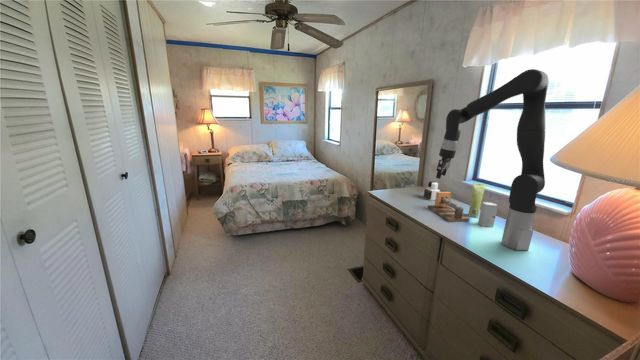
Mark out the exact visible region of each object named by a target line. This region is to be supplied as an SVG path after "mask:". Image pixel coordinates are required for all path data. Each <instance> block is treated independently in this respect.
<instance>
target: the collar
mask: <svg viewBox="0 0 640 360" xmlns="http://www.w3.org/2000/svg"><path fill="white" fill-rule="evenodd" d="M441 197H444V198H446V199H448V200H450V201H451V199H452V192H450V191H440V192H437V193H436V200H434V201H435V202H434V205H435V206H437V207H440V206H448V205H446V204H445V203H443V202H441ZM448 207H449V206H448Z"/></svg>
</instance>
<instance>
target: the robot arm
mask: <svg viewBox="0 0 640 360" xmlns="http://www.w3.org/2000/svg"><path fill="white" fill-rule="evenodd" d="M549 79H550V78H549V76H548V74H547V73H546V72H545V71H542V70H539V69H534V68H533V69H532V68H531V69H530V68H529V69H527V70H525V71H523V72H521V73H519V74H517V75H516V76H515V77H513V78H512V79H510V80H509V81H508V82H506V83H504V84H502V85H501V86H500V87H498V88H496V89H495V90H493V91H490V92H489V93H487V94H484V95H482V96H481V97H479V98H476V99H474V100H473V101H471V102H469V103H468V104H467V105H466V106H465V107H463V108H461V109H460V108H458V109H456V108H455V109H451V110H450V111H449V112H448V114H447V116H446V120H445V133H444V136H443V141H442V142H441V146H440V149H439V154H438V155H439V157H441V159H439V160H438V163H437V167H436V171H437V173H436V176H435V178H436V179H439V180H440V179H441V177H442V176H444V177H445V176H446V175H447V170H448V169H449V168H450V165H451V162H452V159H454V158H455V156H456V152H457V149H458V146H459V145H458V144H459V140H460V136H461V130H460V129H459V128H460V127H459V126H460V124H463V123H466V122H469V121H470V120H471V119H473V118H474V117H477V116H480V115H481V114H484V113H485V112H488V111H490V110H492V109H493V108H495V107H496V106H499V105H500V104H501V103H503V102H505V101H507V100H508V99H510V98H513V97H516V96H520V95H522V101H523V106H522V112H521V113H520V117H519V119H518V123H517V127H516V147H517V149H518V153H519V155H520V158H521V159H520V160H521V172H520V173H521V174H519V175H518V176H515V178H514V179H513V180H512V182H511V186H510V191H509V198H508V203H509V205H508V206H509V207H508V211H507V214H506V220H505V223H504V229H503V232H502V233H503V234H502V236H501V237H502V238H501V244H502V245H503V246H505V247H506V248H509V249H512V250H515V251H529V250H530V245H531V241H532V238H533V233H534V229H532V228H533V223H534V219H535V215H536V212H537V205H536V199H537V195H538V194H539V193H541V192H542V191H543V190H544V188H545V184H546V180H545V179H546V177H545V170H544V169H545V168H544V155H545V143H546V100H547V99H546V98H547V94H548V87H549Z"/></svg>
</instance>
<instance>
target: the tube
mask: <svg viewBox="0 0 640 360" xmlns="http://www.w3.org/2000/svg"><path fill="white" fill-rule="evenodd" d="M471 186H472V187H471V197H470V201H469V202H470V204H469V210H468V213H467V214H468V216H469V217H471V218H479V215H480V211H481V206H482V202H483V201H482V200H483V197H484V195H485V190H486V187H487V184H486V183H472V185H471Z"/></svg>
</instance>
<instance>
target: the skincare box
mask: <svg viewBox="0 0 640 360" xmlns="http://www.w3.org/2000/svg"><path fill="white" fill-rule="evenodd" d="M497 210H498V204H496V203H495V202H489V201H488V202H487V201H481V206H480V210H479V215H478V221H477V222H478V224H479V225H480V226H481V227H491V228H493V227H494V225H495V220H496V216H497V212H498V211H497Z"/></svg>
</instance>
